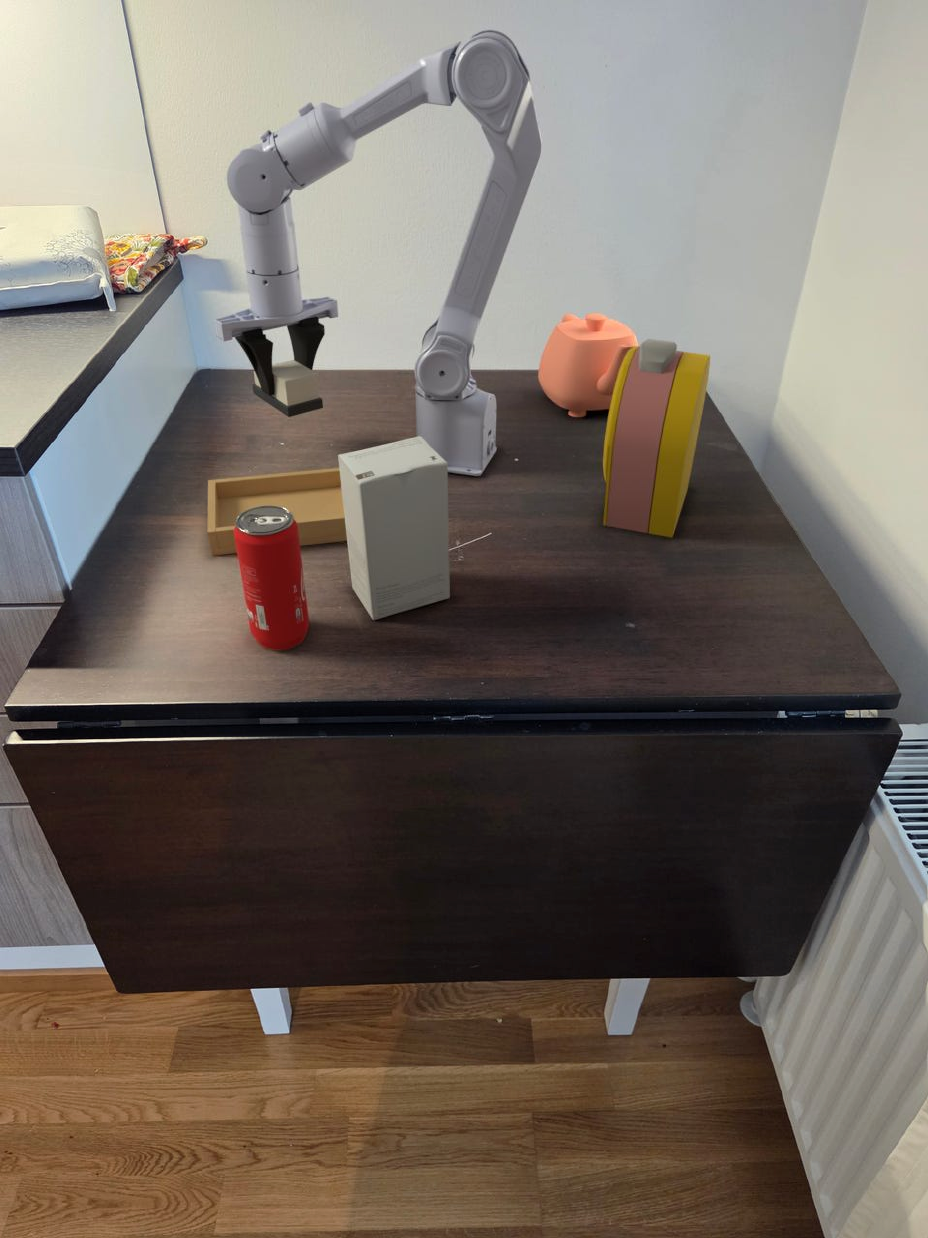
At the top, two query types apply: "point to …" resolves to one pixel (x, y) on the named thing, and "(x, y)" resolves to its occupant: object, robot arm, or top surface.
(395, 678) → the top surface
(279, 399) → the two-tone beige block
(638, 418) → the alarm clock
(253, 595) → the beverage can
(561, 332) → the teapot
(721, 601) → the top surface
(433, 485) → the cosmetic box
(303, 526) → the tray
